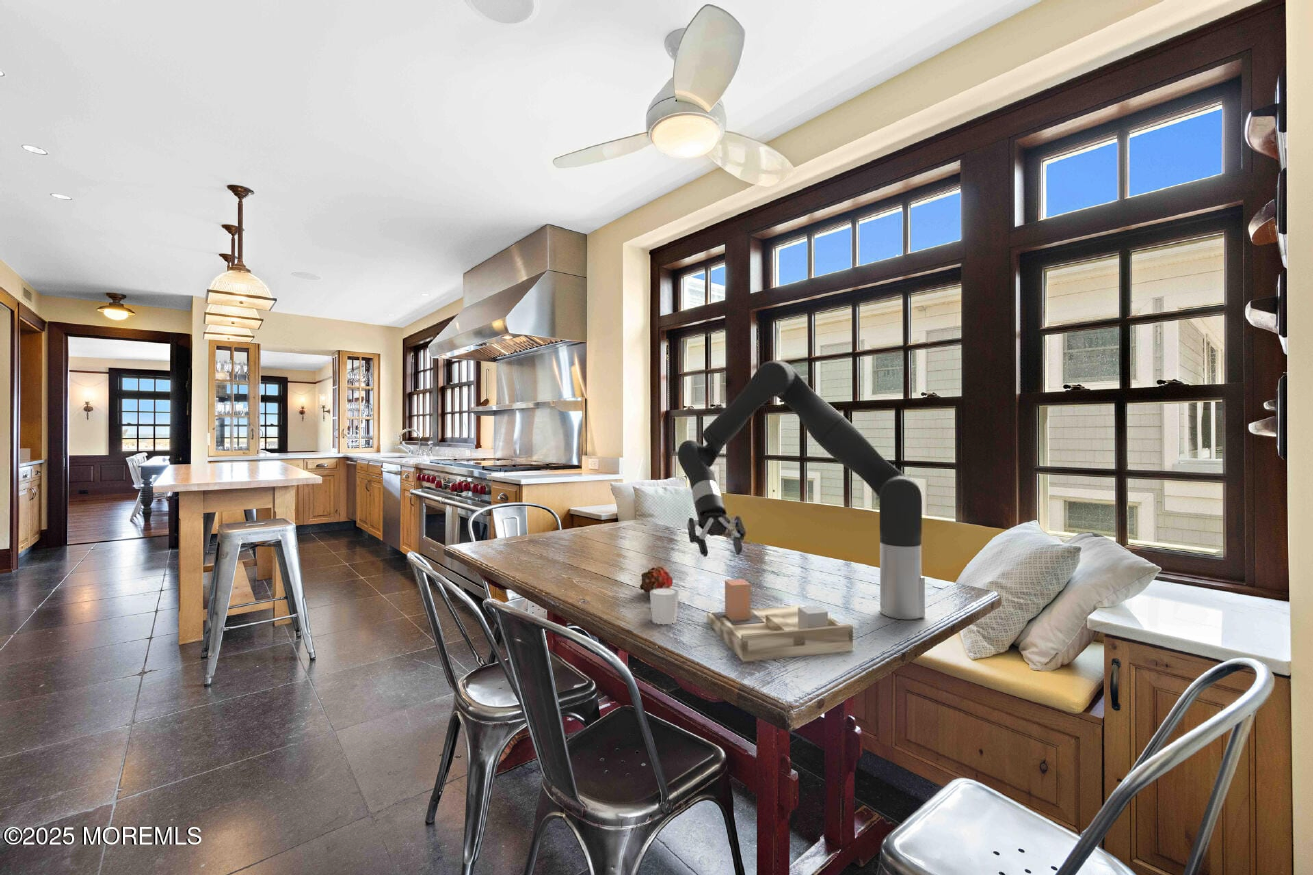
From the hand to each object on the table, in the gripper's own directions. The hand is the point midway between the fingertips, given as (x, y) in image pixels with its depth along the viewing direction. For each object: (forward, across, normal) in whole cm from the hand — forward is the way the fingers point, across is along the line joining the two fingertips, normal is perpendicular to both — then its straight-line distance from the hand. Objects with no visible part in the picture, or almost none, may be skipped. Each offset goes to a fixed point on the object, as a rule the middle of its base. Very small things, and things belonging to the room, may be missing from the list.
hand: (722, 554), depth 141 cm
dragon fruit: (-3, -12, +24) cm, 27 cm away
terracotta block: (+16, 0, +2) cm, 16 cm away
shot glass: (+12, -15, +9) cm, 21 cm away
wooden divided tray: (+22, +6, -2) cm, 23 cm away
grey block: (+25, +12, -7) cm, 29 cm away
